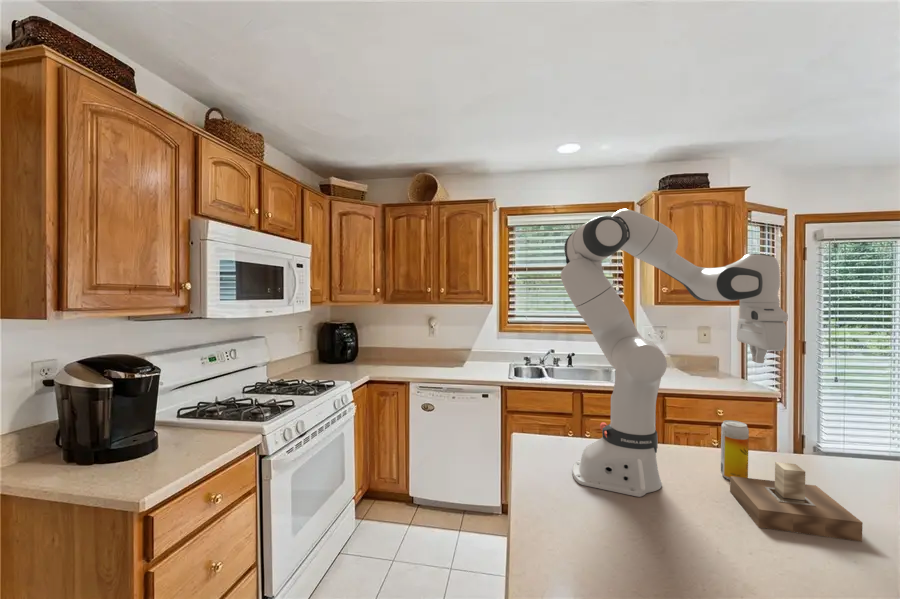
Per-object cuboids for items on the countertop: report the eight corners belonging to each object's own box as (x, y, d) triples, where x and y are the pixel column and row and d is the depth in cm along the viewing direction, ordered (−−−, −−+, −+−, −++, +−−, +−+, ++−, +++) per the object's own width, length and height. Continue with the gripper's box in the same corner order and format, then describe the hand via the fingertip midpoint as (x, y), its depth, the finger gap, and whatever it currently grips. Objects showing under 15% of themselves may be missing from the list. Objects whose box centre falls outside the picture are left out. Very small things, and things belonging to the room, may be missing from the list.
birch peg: (782, 517, 91) (783, 469, 91) (774, 508, 95) (775, 461, 95) (804, 520, 90) (805, 471, 90) (794, 510, 94) (795, 464, 94)
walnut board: (758, 527, 87) (759, 508, 87) (729, 491, 103) (730, 475, 103) (862, 541, 82) (862, 521, 82) (815, 501, 98) (815, 484, 98)
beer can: (752, 484, 107) (753, 427, 106) (726, 481, 108) (727, 426, 107) (740, 473, 113) (741, 420, 112) (716, 471, 114) (717, 419, 113)
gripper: (731, 310, 123) (730, 355, 123) (762, 314, 103) (761, 368, 103) (755, 310, 121) (754, 356, 121) (791, 315, 101) (790, 370, 102)
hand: (758, 362), depth 112 cm, fingers closed
